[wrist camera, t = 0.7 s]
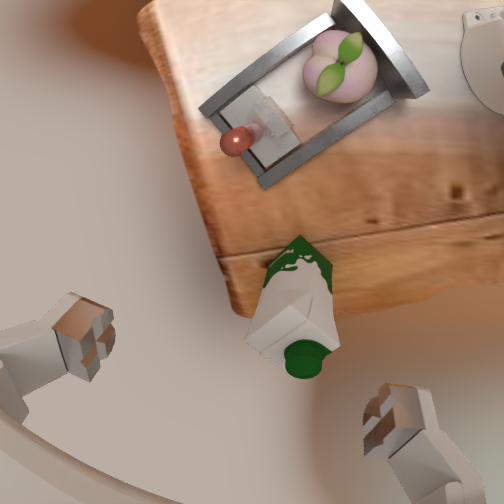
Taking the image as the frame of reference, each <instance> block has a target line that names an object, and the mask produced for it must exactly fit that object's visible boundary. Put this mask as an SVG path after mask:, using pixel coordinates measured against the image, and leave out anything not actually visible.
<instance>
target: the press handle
mask: <svg viewBox="0 0 504 504" xmlns="http://www.w3.org/2000/svg"><path fill="white" fill-rule="evenodd" d="M220 113H221V114H222V115H223V116H224V118H225V119H226V120H227V121H228V122H229V124H230V125H231V126H232V127H233V128H234V129H232V130H229V131H227V132H225V133H224V134H223V135H222V136H221V139H220V147H221V150H222V151H223V152H224V153H225V154H226V155H228V156H231V157H236V156H239V155H241V154H242V153H244V152H245V151H246V150H247V149H249V148H250V149H251V150H252V152H253V153H254V154H255V155H256V157H257V158H258V159H259V160H260V162H261V163H262V164H263V165H264V167H265V168H267V167H268V166H270V165H271V164H272V163H274V162H275V161H276V160H278V159H279V158H281V157H282V156H283V155H285V154H286V153H288V152H289V151H290V150H292V149H293V148H295V147H296V146H298V145H299V144H300V143H301V140H300V139H299V138H298V136H297V135H296V134H295V133H294V131H293V130H292V129H291V128H292V126H293V124H292V123H291V122H290V120H289V119H288V118H287V117H286V115H285V114H284V113H283V112H282V110H281V109H280V108H279V107H278V105H277V104H276V103H275V102H274V101H273V99H272V98H271V97H270V96H265V95H264V94H263V93H262V92H261V91H260V89H259V88H258V87H257V86H256V85H253V86H251V87H250V88H249V89H248V90H246V91H245V92H244V93H242V94H241V95H240V96H239V97H237V98H236V99H235V100H234V101H233V102H231V103H230V104H229V105H228V106H226V107H225V108H224V109H223V110H222V111H220Z"/></svg>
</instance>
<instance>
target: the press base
mask: <svg viewBox="0 0 504 504" xmlns="http://www.w3.org/2000/svg"><path fill="white" fill-rule="evenodd" d="M331 15H332V16H333V17H334V18H335V19H336V20H337V22H338V23H339V24H340V25H341V26H342V27H343V28H344V30H345V31H346V32H348V33H350V34H352V33H355V32H361V34H362V37H363V42H365V43H366V44H367V45H368V46H369V47H370V48H371V50H372V51H373V53H374V55H375V57H376V60H377V68H378V72H379V74H380V75H381V77H382V78H383V79H384V81H385V82H386V84H387V85H388V87H389V88H390V89H391V91H392V92H393V94H394V95H395V97H396V98H408V99H417V98H419V97H420V96H422V95H424V94H425V93H427V92H429V91H430V90H429V88H428V86H427V85H426V83H425V82H424V80H423V78H422V77H421V75H420V74H419V72H418V71H417V69H416V68H415V66H414V65H413V64H412V62H411V61H410V59H409V58H408V56H407V55H406V54H405V52H404V51H403V49H402V48H401V47H400V45H399V44H398V43H397V41H396V40H395V39H394V37H393V36H392V35H391V34H390V32H389V31H388V30H387V29H386V27H385V26H384V25H383V24H382V22H381V21H380V20H379V19H378V18H377V16H376V15H375V14H374V13H373V12H372V11H371V9H370V8H369V7H368V6H367V5H366V4H365V3H364V1H363V0H334V2H333V7H332V13H331ZM334 26H335V22H334V21H333V20H332V19H331V18H330V17H329V15H328V14H327V13H325V14H323V15H322V16H320V17H318V18H317V19H315V20H314V21H312V22H310V23H309V24H307V25H306V26H304V27H303V28H301V29H300V30H298V31H297V32H295V33H294V34H292V35H291V36H289V37H288V38H286V39H285V40H284V41H282V42H281V43H279V44H278V45H277V46H275V47H274V48H272V49H271V50H270V51H268V52H267V53H265V54H264V55H263V56H261V57H260V58H259V59H257V60H256V61H255V62H253V63H252V64H251V65H250V66H248V67H247V68H246V69H244V70H243V71H242V72H241V73H239V74H238V75H237V76H236V77H234V78H233V79H232V80H231V81H229V82H228V83H227V84H226V85H225V86H223V87H222V88H221V89H220V90H219V91H217V92H216V93H215V94H214V95H213V96H212V97H210V98H209V99H208V100H207V101H206V102H205V103H203V104H202V105H201V106H200V107H199V108H198V109H199V110H200V111H201V113H202V114H203V115H204V116H205V117H206V118H210V119H211V120H212V122H213V123H214V124H215V125H216V126H217V128H218V129H219V130H220V131H221V132H222V134H224V133H225V132H227V131H229V130H232V129H233V127H232V126H231V125H230V124H229V123H228V121H227V120H226V119H225V118H224V117H223V116H222V114H221V113H220V112H219V111H220V110H221V109H223V108H224V107H225V106H226V105H227V104H229V103H230V102H231V101H232V100H234V99H235V98H236V97H237V96H239V95H240V94H241V93H242V92H244V91H245V90H246V89H247V88H249V87H250V86H251V85H253V84H254V83H255V82H256V81H258V80H259V79H260V78H262V77H263V76H264V75H266V74H267V73H268V72H270V71H271V70H272V69H274V68H275V67H277V66H278V65H279V64H281V63H282V62H284V61H285V60H286V59H288V58H289V57H291V56H292V55H293V54H295V53H296V52H298V51H299V50H301V49H302V48H304V47H305V46H307V45H308V44H310V43H311V42H313V41H314V40H315V39H316V38H317V37H318V36H319V35H320V34H322V33H323V32H325V31H329V30H331V29H333V28H334ZM394 103H395V100H394V99H393V97H392V96H391V94H390V93H389V91H388V90H384V91H382V92H380V93H379V94H377V95H375V96H374V97H372V98H371V99H369V100H368V101H366V102H365V103H363V104H361V105H360V106H358V107H357V108H355V109H354V110H352V111H351V112H349V113H348V114H346V115H345V116H343V117H342V118H340V119H339V120H337V121H336V122H334V123H333V124H331V125H330V126H328V127H327V128H325V129H324V130H322V131H321V132H319V133H318V134H317V135H315V136H314V137H312V138H311V139H309V140H308V141H306V142H305V143H303V144H302V145H301V146H299V147H298V148H296V149H295V150H294V151H292V152H291V153H289V154H288V155H286V156H285V157H284V158H282V159H281V160H279V161H278V162H277V163H275V164H274V165H272V166H271V167H270V168H268V169H266V168H265V167H264V166H263V164H262V163H261V162H260V161H259V159H258V158H257V157H256V156H255V154H254V153H253V152H252V151H251V149H250V148H249V149H247V150H246V151H245V152H244V153H242V154H241V157H242V158H243V159H244V160H245V162H246V163H247V164H248V165H249V167H250V168H251V169H252V170H253V172H254V173H255V174H256V175H257V177H258V178H257V181H258V182H259V183H260V184H261V186H262V187H263V188H264V189H265V190H266V189H267V188H268V187H270V186H271V185H273V184H274V183H276V182H277V181H278V180H280V179H281V178H283V177H284V176H286V175H287V174H288V173H290V172H291V171H293V170H294V169H296V168H297V167H299V166H300V165H301V164H303V163H304V162H306V161H307V160H309V159H310V158H312V157H313V156H315V155H316V154H317V153H319V152H320V151H322V150H323V149H325V148H326V147H328V146H329V145H331V144H332V143H334V142H335V141H337V140H338V139H340V138H341V137H343V136H344V135H346V134H347V133H349V132H350V131H352V130H353V129H355V128H356V127H358V126H359V125H361V124H363V123H364V122H366V121H367V120H369V119H370V118H372V117H373V116H375V115H376V114H378V113H380V112H381V111H383V110H384V109H386V108H387V107H389V106H391V105H392V104H394Z"/></svg>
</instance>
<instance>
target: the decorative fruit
mask: <svg viewBox="0 0 504 504" xmlns="http://www.w3.org/2000/svg"><path fill="white" fill-rule="evenodd" d="M312 53H313V57H312V58H310V59H309V60H308V61H307V62H306V63H305V65H304V68H303V80H304V83H305V85H306V87H307V88H308V89H309V90H310V91H311V92H312V93H313V94H314V95H315V96H317V98H321V99H324V100H327V101H332V102H337V103H351V102H355V101H358V100H360V99H362V98H363V97H364V96H366V95H367V94H368V93H369V92H370V90H371V89H372V87H373V85H374V83H375V80H376V77H377V71H378V68H377V60H376V57H375V55H374V53H373V51H372V50H371V48H370V47H369V46H368V45H367V44H366V43H365V42H363V37H362V34H361V32H355V33H352V34H350V33H348V32H345V31H340V30H329V31H325V32H323V33H322V34H320V35H319V36H318V37H317V38H316V39H315V41H314V43H313V46H312Z"/></svg>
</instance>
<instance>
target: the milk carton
mask: <svg viewBox="0 0 504 504" xmlns="http://www.w3.org/2000/svg"><path fill="white" fill-rule="evenodd" d="M332 266H333V265H332V264H331V263H330V262H329V261H328V260H327V259H326V258H325V257H324V256H322V255H321V254H320V253H319V252H318V251H317V250H316V249H315V248H314V247H313V246H312V245H310V244H309V243H308V242H307V241H306V240H305V239H304V238H303V237H302V236H301V235H299V236H298V237H297V238H296V239H295V240H294V241H293V242H292V243H291V244H290V245H289V246H288V247H287V248H286V249H284V250H283V251H282V252H281V253H280V254H279V255H278V256H277V257H276V258H275V259H274V260H273V261H271V262H270V263H269V267H268V271H267V274H266V278H265V281H264V285H263V288H262V292H261V295H260V299H259V302H258V306H257V309H256V311H255V314H254V316H253V319H252V321H251V324H250V326H249V328H248V331H247V333H246V336H245V338H244V341H245V342H246V343H247V344H249V345H250V346H251V347H253V348H254V349H256V350H257V351H258V352H260V355H262V356H263V357H265V358H266V359H268V360H270V361H271V362H273V363H274V364H276V365H277V366H279V367H280V368H281V369H283V370H284V371H286V372H287V373H289V374H290V375H292V376H293V377H296V378H300V379H308V378H312V377H314V376H316V375H318V374H319V373H320V372H321V369H322V360H323V359H324V358H325V356H327V355H328V354H330V353H332V351H333V350H335V349H336V348H338V347H339V346H340V343H339V338H338V334H337V330H336V326H335V321H334V316H333V300H332Z"/></svg>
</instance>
